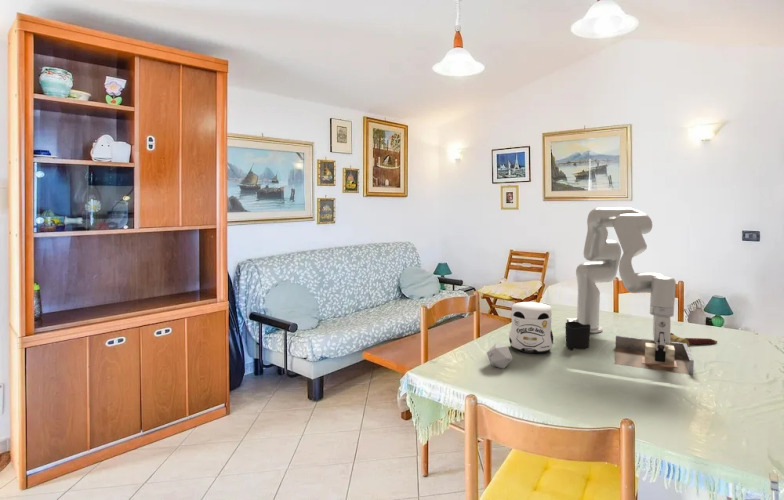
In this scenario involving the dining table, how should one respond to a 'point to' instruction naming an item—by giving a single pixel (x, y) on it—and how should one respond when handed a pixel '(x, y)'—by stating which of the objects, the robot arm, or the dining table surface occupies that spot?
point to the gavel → (691, 340)
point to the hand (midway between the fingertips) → (659, 357)
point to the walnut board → (639, 361)
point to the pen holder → (577, 335)
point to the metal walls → (639, 343)
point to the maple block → (650, 354)
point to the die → (499, 356)
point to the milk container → (531, 327)
